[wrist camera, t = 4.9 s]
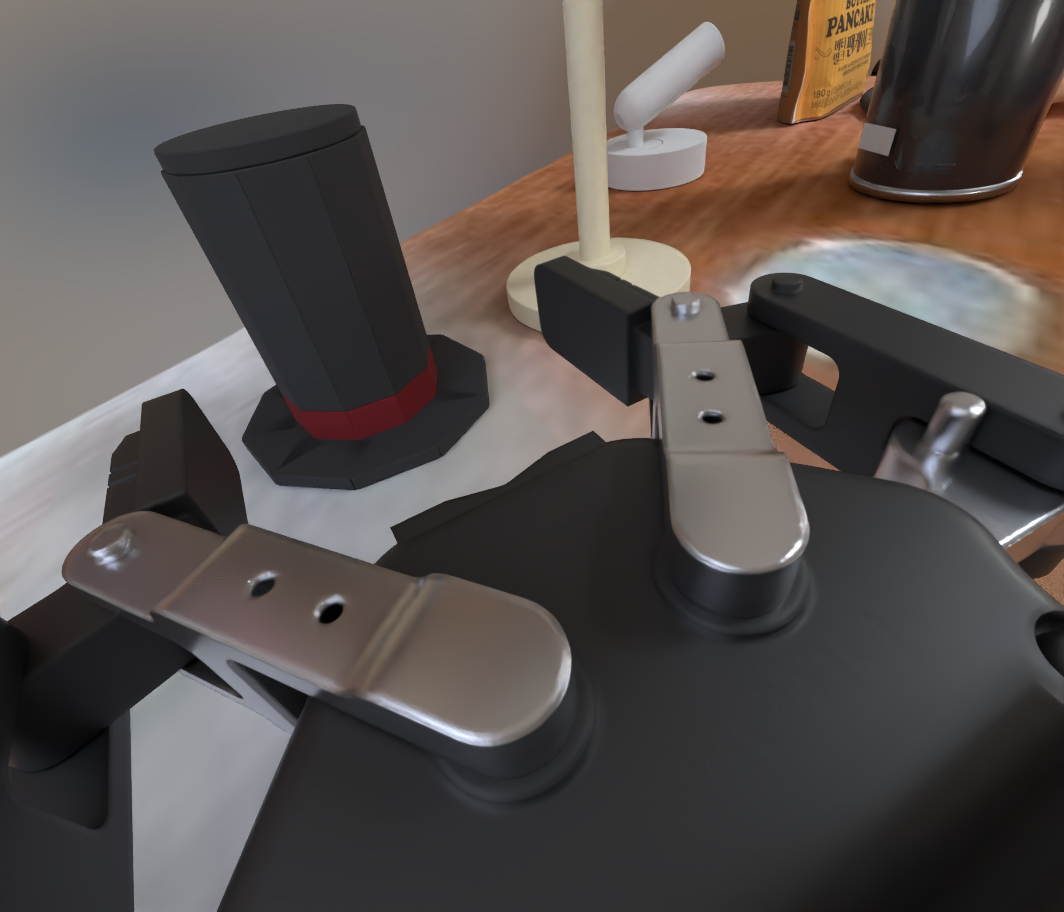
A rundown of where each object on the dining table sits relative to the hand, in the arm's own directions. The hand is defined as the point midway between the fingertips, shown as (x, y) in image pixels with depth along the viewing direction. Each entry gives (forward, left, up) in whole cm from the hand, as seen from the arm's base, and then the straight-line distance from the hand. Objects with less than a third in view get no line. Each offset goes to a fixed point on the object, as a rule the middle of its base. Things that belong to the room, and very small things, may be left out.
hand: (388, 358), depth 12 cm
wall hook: (-36, -20, -7) cm, 42 cm away
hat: (-2, -10, -7) cm, 12 cm away
